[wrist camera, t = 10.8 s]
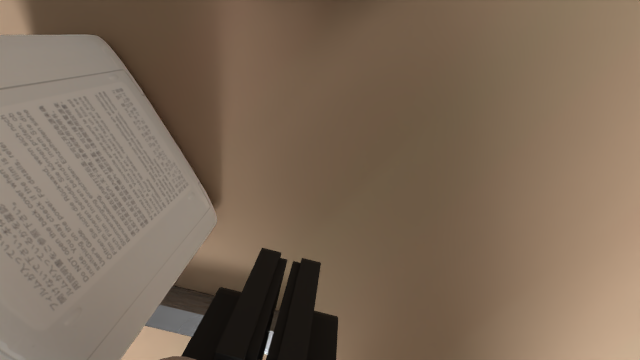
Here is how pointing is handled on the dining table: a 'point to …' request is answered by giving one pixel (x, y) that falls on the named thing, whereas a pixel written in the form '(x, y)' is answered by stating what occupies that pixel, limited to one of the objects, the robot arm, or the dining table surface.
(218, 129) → the dining table surface
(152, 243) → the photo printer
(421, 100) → the dining table surface
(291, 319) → the robot arm
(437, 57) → the dining table surface
